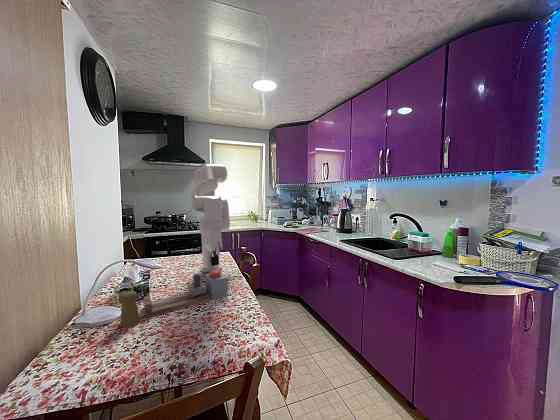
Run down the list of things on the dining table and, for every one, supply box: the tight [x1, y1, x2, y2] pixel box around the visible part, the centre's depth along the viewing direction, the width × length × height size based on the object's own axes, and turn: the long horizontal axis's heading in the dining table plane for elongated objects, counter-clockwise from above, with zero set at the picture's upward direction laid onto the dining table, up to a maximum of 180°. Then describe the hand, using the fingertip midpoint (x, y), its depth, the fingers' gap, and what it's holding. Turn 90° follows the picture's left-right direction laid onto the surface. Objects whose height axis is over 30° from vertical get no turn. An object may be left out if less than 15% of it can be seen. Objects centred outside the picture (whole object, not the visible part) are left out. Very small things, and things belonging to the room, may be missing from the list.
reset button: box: [209, 269, 222, 278], centre depth 105 cm, size 5×5×4 cm
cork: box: [119, 290, 141, 328], centre depth 82 cm, size 6×6×11 cm
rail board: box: [143, 291, 212, 318], centre depth 96 cm, size 10×24×4 cm, turn 124°
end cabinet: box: [204, 272, 229, 300], centre depth 105 cm, size 10×7×8 cm
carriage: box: [187, 273, 207, 297], centre depth 100 cm, size 7×6×8 cm
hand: (214, 264), depth 105 cm, fingers closed
